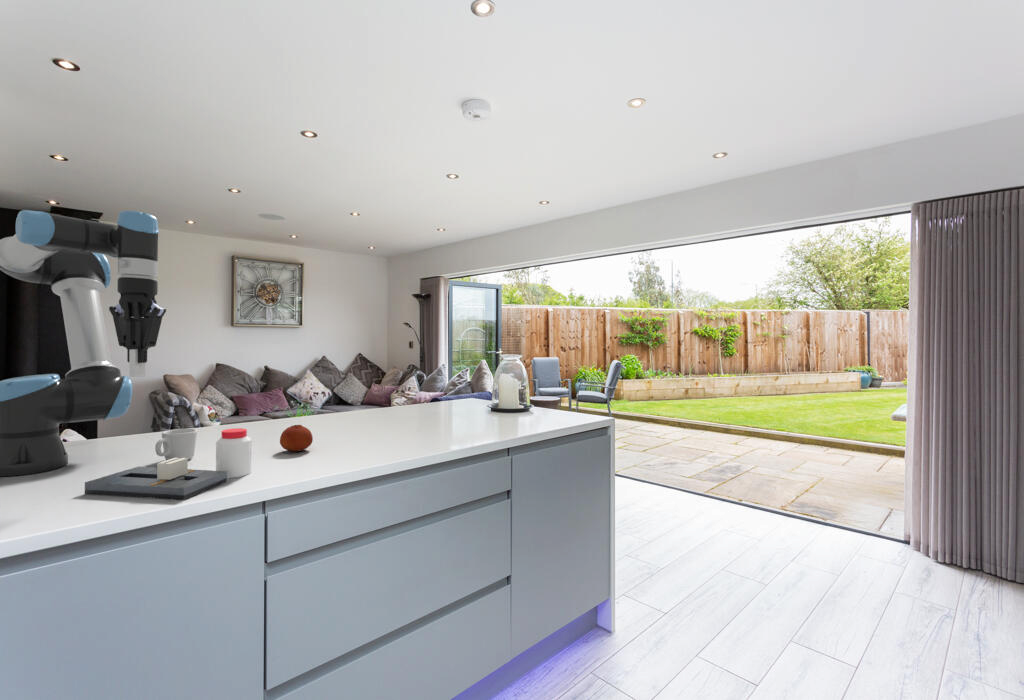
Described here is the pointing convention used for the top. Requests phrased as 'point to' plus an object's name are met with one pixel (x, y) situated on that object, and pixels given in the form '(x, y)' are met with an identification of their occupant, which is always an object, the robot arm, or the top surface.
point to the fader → (172, 469)
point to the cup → (177, 443)
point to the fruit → (296, 438)
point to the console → (155, 484)
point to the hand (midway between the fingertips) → (137, 376)
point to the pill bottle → (234, 452)
